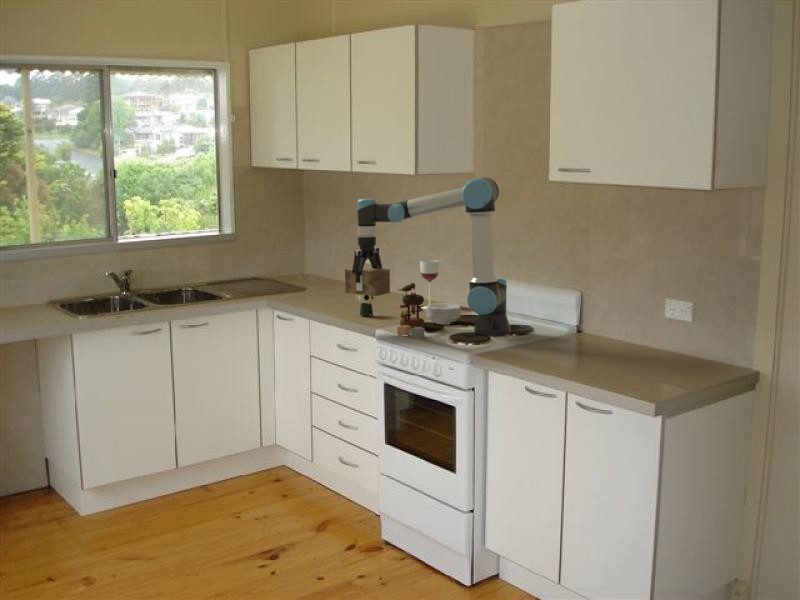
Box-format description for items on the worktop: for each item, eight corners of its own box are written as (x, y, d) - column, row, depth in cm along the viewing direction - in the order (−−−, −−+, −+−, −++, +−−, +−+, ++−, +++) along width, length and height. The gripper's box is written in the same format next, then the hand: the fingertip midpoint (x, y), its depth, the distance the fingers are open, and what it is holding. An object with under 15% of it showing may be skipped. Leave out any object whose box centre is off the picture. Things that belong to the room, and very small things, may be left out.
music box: (411, 331, 390) (407, 284, 388) (392, 330, 398) (389, 284, 396) (435, 326, 401) (431, 280, 399) (417, 325, 408) (413, 280, 407)
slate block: (424, 337, 378) (424, 327, 377) (419, 338, 375) (418, 329, 374) (416, 336, 380) (416, 326, 380) (411, 337, 377) (410, 328, 376)
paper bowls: (467, 322, 409) (467, 305, 408) (444, 327, 398) (444, 309, 397) (442, 318, 420) (442, 301, 418) (419, 323, 409) (419, 305, 408)
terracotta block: (410, 335, 382) (410, 326, 381) (405, 337, 379) (405, 327, 378) (403, 334, 384) (402, 325, 384) (397, 336, 381) (397, 326, 380)
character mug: (360, 318, 423) (360, 290, 421) (352, 316, 429) (352, 288, 427) (380, 315, 429) (380, 288, 427) (371, 313, 435) (371, 286, 433)
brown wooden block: (389, 293, 386) (389, 269, 384) (375, 296, 378) (374, 271, 376) (360, 290, 395) (360, 266, 393) (345, 292, 387) (344, 269, 385)
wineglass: (428, 309, 444) (428, 262, 441) (416, 307, 452) (415, 260, 449) (443, 307, 449) (443, 261, 446) (430, 305, 457) (430, 259, 454)
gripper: (376, 233, 394) (377, 285, 397) (342, 237, 376) (343, 291, 379) (390, 234, 389) (390, 286, 393) (356, 238, 371) (357, 293, 375)
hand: (367, 288), depth 386 cm, fingers closed on brown wooden block, 10 cm apart
